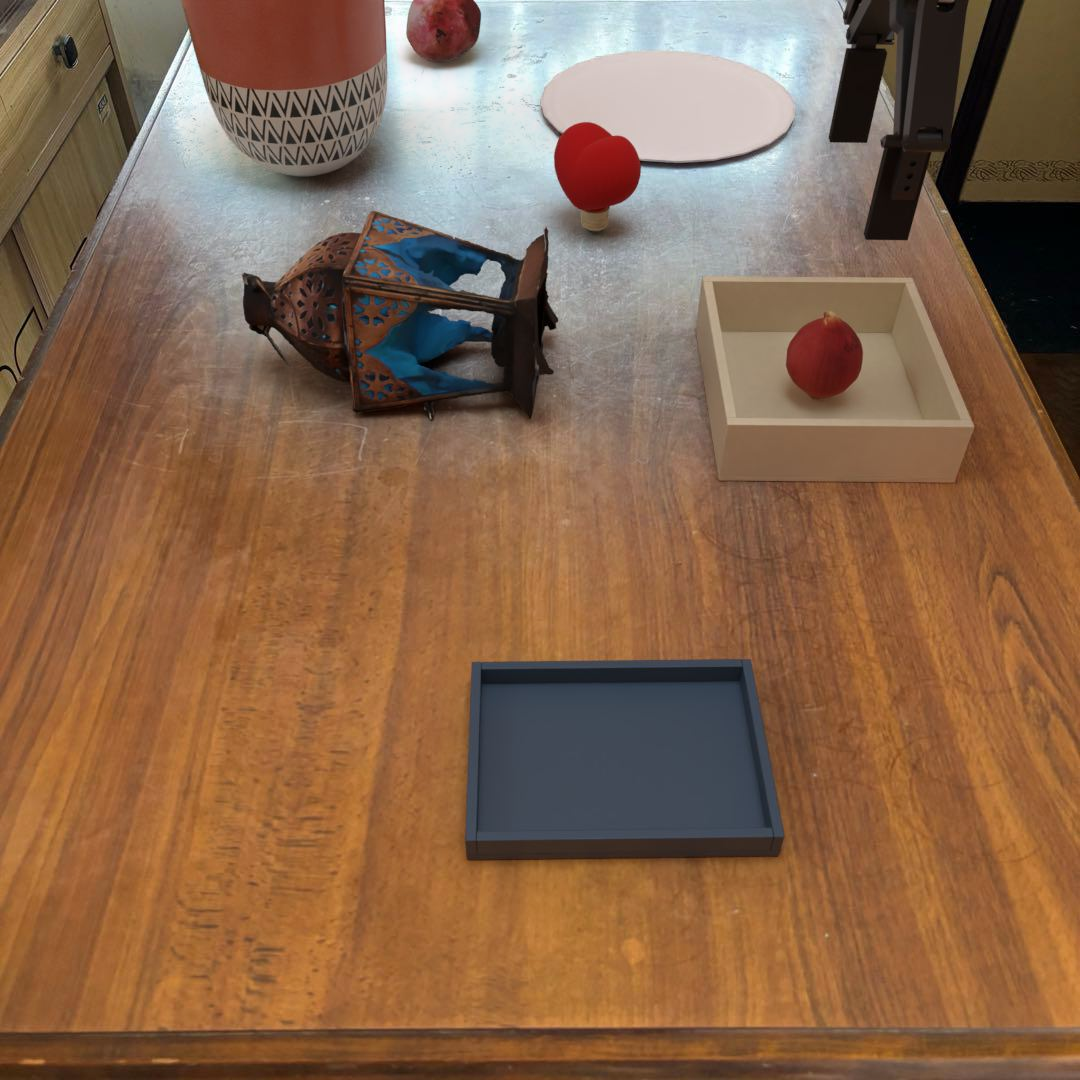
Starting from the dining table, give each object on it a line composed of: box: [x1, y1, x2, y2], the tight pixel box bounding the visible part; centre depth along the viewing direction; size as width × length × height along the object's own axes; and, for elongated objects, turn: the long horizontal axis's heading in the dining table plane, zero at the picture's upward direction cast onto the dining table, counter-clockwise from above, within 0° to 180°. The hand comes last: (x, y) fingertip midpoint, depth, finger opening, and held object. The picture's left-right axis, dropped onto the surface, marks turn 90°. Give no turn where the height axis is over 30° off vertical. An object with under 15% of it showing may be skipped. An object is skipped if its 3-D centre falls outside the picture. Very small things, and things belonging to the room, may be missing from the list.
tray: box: [464, 658, 786, 861], centre depth 64 cm, size 17×12×2 cm
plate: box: [539, 49, 796, 164], centre depth 127 cm, size 29×29×1 cm
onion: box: [786, 311, 863, 399], centre depth 86 cm, size 6×6×8 cm
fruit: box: [405, 0, 482, 63], centre depth 134 cm, size 9×10×10 cm
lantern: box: [241, 210, 559, 421], centre depth 87 cm, size 16×16×25 cm
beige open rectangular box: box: [695, 275, 975, 484], centre depth 87 cm, size 20×18×5 cm
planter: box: [180, 0, 388, 177], centre depth 110 cm, size 20×20×21 cm
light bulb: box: [553, 122, 642, 234], centre depth 104 cm, size 9×7×10 cm
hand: (865, 186), depth 76 cm, fingers open, 13 cm apart
